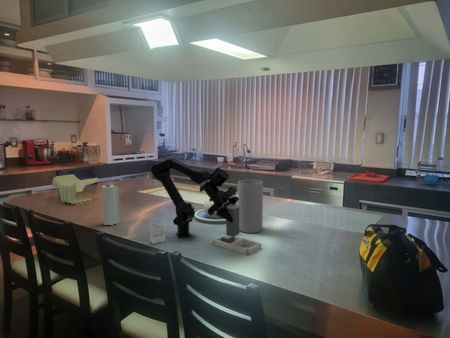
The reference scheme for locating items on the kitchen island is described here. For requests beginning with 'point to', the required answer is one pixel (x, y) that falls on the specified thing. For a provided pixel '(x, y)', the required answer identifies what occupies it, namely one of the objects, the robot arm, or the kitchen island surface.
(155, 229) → the white angled block
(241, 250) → the beige divided rectangular frame
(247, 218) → the cylinder vase
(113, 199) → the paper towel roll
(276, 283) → the kitchen island surface
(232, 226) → the iec plug
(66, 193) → the pale green plastic piece
